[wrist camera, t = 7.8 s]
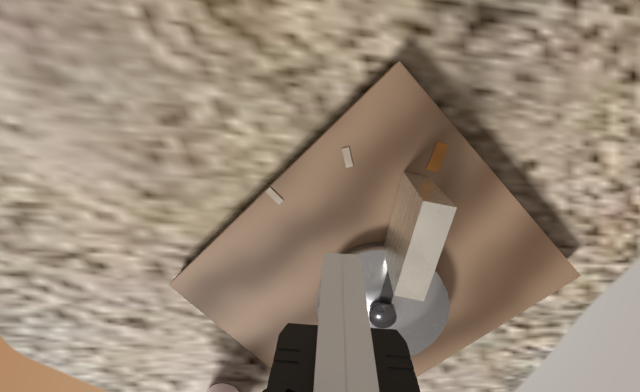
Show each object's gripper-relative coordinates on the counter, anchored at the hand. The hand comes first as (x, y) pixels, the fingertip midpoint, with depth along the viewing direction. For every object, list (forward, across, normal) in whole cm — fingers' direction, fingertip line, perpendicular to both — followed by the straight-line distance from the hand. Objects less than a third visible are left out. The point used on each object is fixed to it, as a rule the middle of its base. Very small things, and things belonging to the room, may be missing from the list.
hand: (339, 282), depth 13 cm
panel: (+13, +2, -7) cm, 15 cm away
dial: (+11, +4, -6) cm, 13 cm away
